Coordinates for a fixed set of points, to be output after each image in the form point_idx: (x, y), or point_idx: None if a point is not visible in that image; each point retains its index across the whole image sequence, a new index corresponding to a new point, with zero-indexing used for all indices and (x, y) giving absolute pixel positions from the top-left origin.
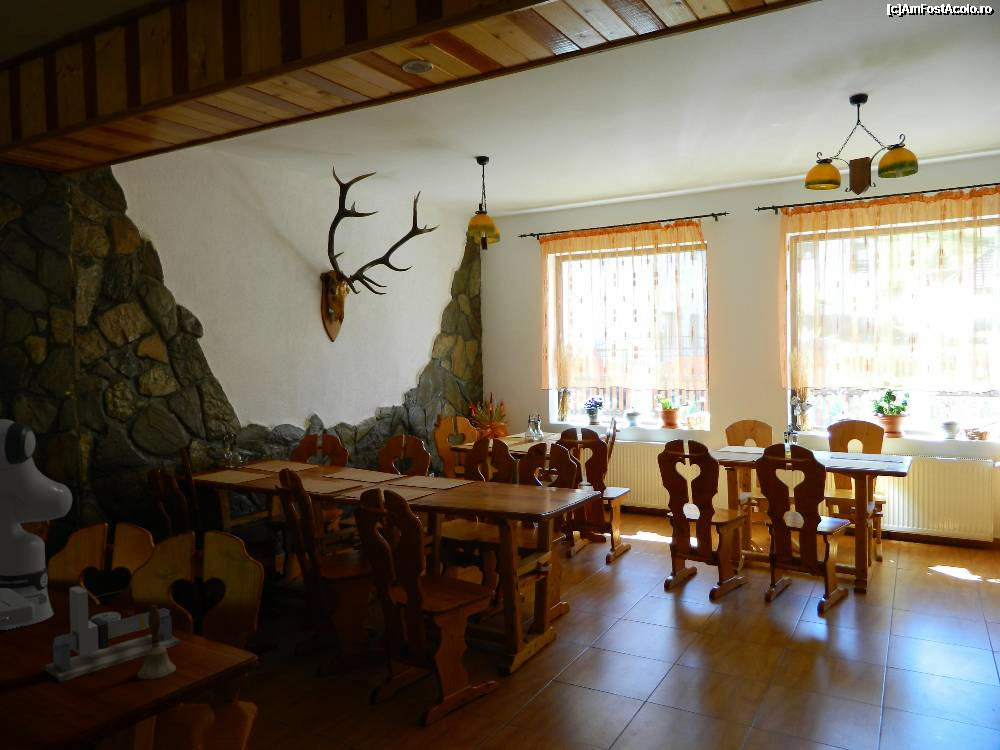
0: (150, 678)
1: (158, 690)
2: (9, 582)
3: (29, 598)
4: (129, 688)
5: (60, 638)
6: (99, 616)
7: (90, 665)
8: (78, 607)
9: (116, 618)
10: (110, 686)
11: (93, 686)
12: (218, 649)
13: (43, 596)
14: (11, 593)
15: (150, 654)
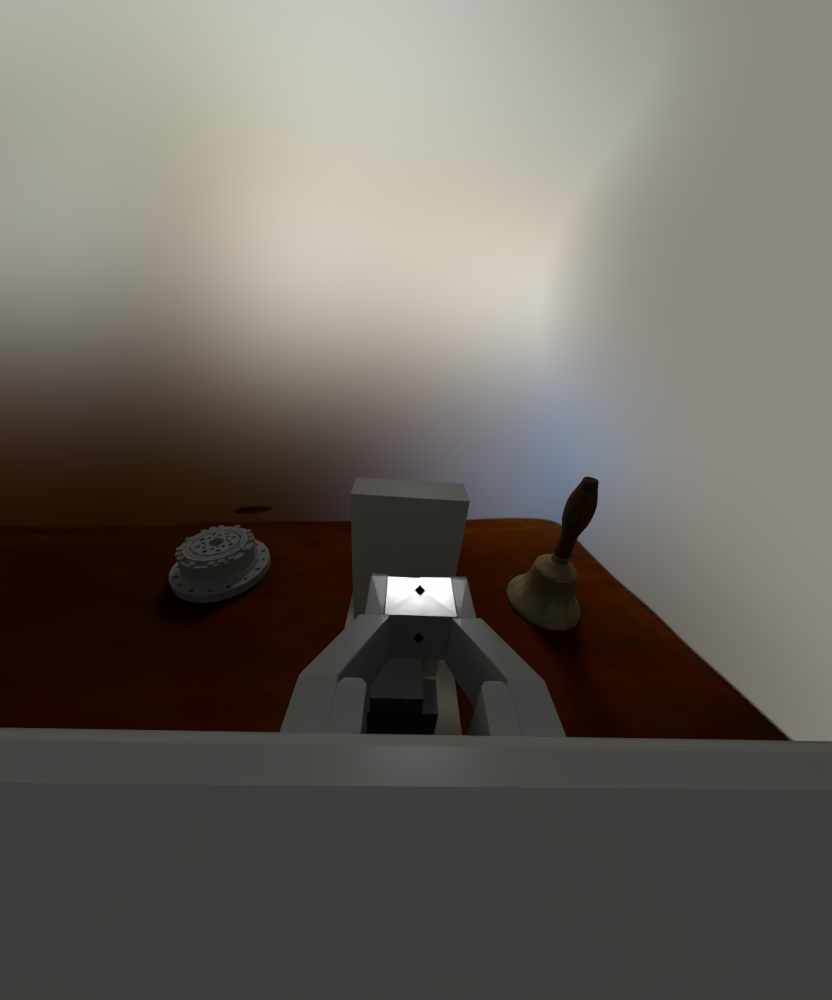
0: (579, 620)
1: (647, 634)
2: None
3: (501, 683)
4: (613, 666)
5: (404, 685)
6: (202, 548)
7: (439, 674)
8: (455, 554)
9: (253, 537)
10: (581, 690)
11: (560, 721)
12: (497, 525)
13: (466, 590)
14: (167, 825)
15: (574, 580)
